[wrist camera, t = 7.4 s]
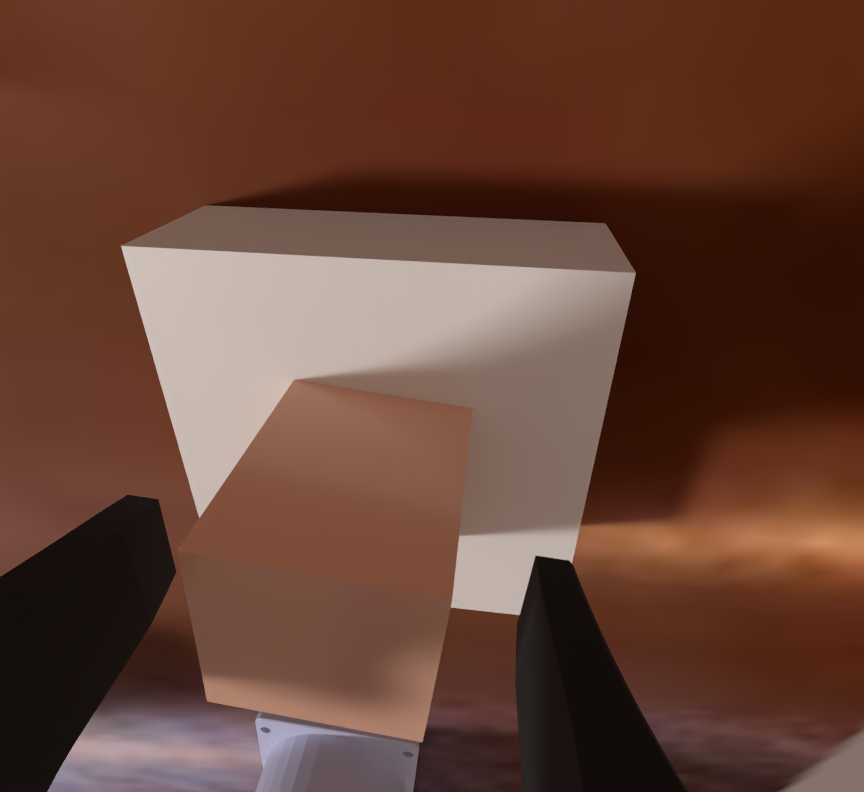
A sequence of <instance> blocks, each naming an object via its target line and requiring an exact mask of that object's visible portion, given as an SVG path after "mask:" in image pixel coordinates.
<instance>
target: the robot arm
mask: <svg viewBox="0 0 864 792" xmlns="http://www.w3.org/2000/svg"><path fill="white" fill-rule="evenodd" d="M175 574H176V569H175V565H174V561H173V557H172V553H171V549H170V545H169V541H168V537H167V533H166V529H165V525H164V521H163V517H162V513H161V509H160V505H159V501H158V499H152V498H145V497H138V496H132V495H127V496H125V497H124V498H122V499H120V500H119V501H117V502H115V503H114V504H112V505H111V506H109V507H108V508H106V509H104V510H103V511H101V512H100V513H98V514H97V515H95V516H94V517H92V518H91V519H89V520H88V521H86V522H85V523H83V524H81V525H80V526H78V527H77V528H75V529H74V530H72V531H71V532H69V533H68V534H66V535H65V536H63V537H62V538H60V539H59V540H57V541H56V542H54V543H52V544H51V545H49V546H48V547H46V548H45V549H43V550H42V551H40V552H38V553H37V554H35V555H34V556H32V557H31V558H29V559H28V560H26V561H24V562H23V563H21V564H20V565H18V566H17V567H15V568H14V569H12V570H10V571H9V572H7V573H6V574H4V575H3V576H1V577H0V792H47V791H48V789H49V787H50V785H51V783H52V781H53V780H54V778H55V776H56V774H57V772H58V770H59V768H60V767H61V765H62V763H63V762H64V760H65V758H66V757H67V755H68V753H69V752H70V750H71V748H72V747H73V745H74V743H75V742H76V740H77V739H78V737H79V736H80V734H81V732H82V731H83V729H84V728H85V726H86V725H87V723H88V722H89V720H90V718H91V717H92V715H93V714H94V712H95V711H96V709H97V708H98V706H99V705H100V703H101V701H102V700H103V698H104V697H105V695H106V694H107V692H108V691H109V689H110V688H111V686H112V684H113V683H114V681H115V680H116V678H117V677H118V675H119V674H120V672H121V671H122V669H123V667H124V666H125V664H126V663H127V661H128V660H129V658H130V656H131V655H132V653H133V652H134V650H135V649H136V647H137V645H138V644H139V642H140V641H141V639H142V638H143V636H144V634H145V633H146V631H147V630H148V628H149V626H150V625H151V623H152V621H153V619H154V617H155V615H156V613H157V611H158V609H159V607H160V605H161V603H162V601H163V599H164V597H165V595H166V593H167V591H168V589H169V586H170V584H171V582H172V580H173V578H174V576H175ZM515 683H516V698H517V712H518V727H519V741H520V754H521V768H522V781H523V792H688V791H687V789H686V788H685V786H684V785H683V783H682V781H681V780H680V778H679V777H678V775H677V773H676V772H675V770H674V768H673V767H672V765H671V763H670V762H669V760H668V758H667V756H666V755H665V753H664V751H663V750H662V748H661V746H660V745H659V743H658V741H657V739H656V737H655V736H654V734H653V732H652V730H651V728H650V727H649V725H648V723H647V721H646V720H645V718H644V716H643V714H642V712H641V711H640V709H639V707H638V705H637V703H636V701H635V699H634V697H633V696H632V694H631V692H630V690H629V688H628V686H627V684H626V682H625V680H624V678H623V676H622V674H621V672H620V670H619V668H618V666H617V664H616V662H615V660H614V658H613V656H612V654H611V652H610V650H609V648H608V646H607V644H606V642H605V639H604V637H603V635H602V633H601V631H600V629H599V626H598V624H597V622H596V620H595V617H594V615H593V613H592V611H591V608H590V606H589V604H588V601H587V599H586V597H585V594H584V592H583V589H582V587H581V584H580V582H579V579H578V577H577V574H576V571H575V568H574V566H573V565H572V563H571V562H570V561H569V560H562V559H555V558H549V557H542V556H535V560H534V564H533V567H532V571H531V575H530V578H529V582H528V586H527V590H526V593H525V597H524V601H523V605H522V608H521V612H520V616H519V620H518V623H517V641H516V679H515ZM255 723H256V729H257V735H258V740H259V746H260V752H261V758H262V764H263V772H262V775H261V777H260V780H259V783H258V786H257V789H256V792H413V789H414V782H415V775H416V768H417V761H418V753H419V746H420V742H418V741H412V740H407V739H402V738H397V737H391V736H386V735H381V734H376V733H371V732H365V731H360V730H355V729H350V728H344V727H339V726H334V725H329V724H323V723H318V722H313V721H308V720H302V719H297V718H292V717H287V716H281V715H276V714H271V713H266V712H260V713H258V716H257V718H256V721H255Z"/></svg>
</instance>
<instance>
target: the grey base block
mask: <svg viewBox="0 0 864 792" xmlns="http://www.w3.org/2000/svg"><path fill="white" fill-rule="evenodd" d="M121 247H122V251H123V254H124V258H125V261H126V265H127V268H128V272H129V275H130V279H131V282H132V286H133V289H134V293H135V296H136V300H137V303H138V307H139V310H140V314H141V317H142V320H143V324H144V327H145V331H146V334H147V338H148V341H149V345H150V348H151V352H152V355H153V359H154V362H155V366H156V369H157V373H158V376H159V380H160V383H161V387H162V390H163V394H164V397H165V400H166V404H167V407H168V411H169V414H170V418H171V421H172V425H173V428H174V432H175V435H176V439H177V442H178V446H179V449H180V453H181V456H182V460H183V463H184V467H185V470H186V473H187V477H188V480H189V484H190V487H191V491H192V494H193V498H194V501H195V505H196V508H197V512H198V515H199V518H200V517H201V515H202V514H203V512H204V511H205V509H206V508H207V506H208V505H209V503H210V502H211V501H212V499H213V498H214V496H215V495H216V493H217V492H218V490H219V489H220V487H221V486H222V484H223V483H224V482H225V480H226V479H227V477H228V476H229V474H230V473H231V471H232V470H233V468H234V467H235V465H236V464H237V463H238V461H239V460H240V458H241V457H242V455H243V454H244V452H245V451H246V449H247V448H248V446H249V445H250V443H251V442H252V441H253V439H254V438H255V436H256V435H257V433H258V432H259V430H260V429H261V427H262V426H263V424H264V423H265V422H266V420H267V419H268V417H269V416H270V414H271V413H272V411H273V410H274V408H275V407H276V405H277V404H278V402H279V401H280V400H281V398H282V397H283V395H284V394H285V392H286V391H287V389H288V388H289V386H290V385H291V383H292V382H293V381H294V380H299V381H305V382H311V383H318V384H324V385H330V386H336V387H343V388H349V389H355V390H361V391H368V392H374V393H380V394H386V395H393V396H399V397H405V398H411V399H418V400H424V401H430V402H436V403H443V404H449V405H455V406H461V407H467V408H473V411H472V420H471V430H470V439H469V448H468V458H467V467H466V476H465V485H464V495H463V504H462V513H461V523H460V532H459V541H458V550H457V560H456V569H455V578H454V588H453V597H452V603H451V607H452V608H461V609H470V610H479V611H488V612H497V613H506V614H515V615H520V612H521V608H522V605H523V601H524V597H525V593H526V590H527V586H528V582H529V578H530V575H531V571H532V567H533V564H534V560H535V556H542V557H549V558H555V559H562V560H569V561H570V562H571V563H572V561H573V556H574V552H575V547H576V542H577V538H578V533H579V529H580V524H581V520H582V515H583V511H584V506H585V502H586V497H587V493H588V488H589V483H590V479H591V474H592V470H593V465H594V461H595V456H596V452H597V447H598V443H599V438H600V434H601V429H602V425H603V420H604V415H605V411H606V406H607V402H608V397H609V393H610V388H611V384H612V379H613V375H614V370H615V366H616V361H617V356H618V352H619V347H620V343H621V338H622V334H623V329H624V325H625V320H626V316H627V311H628V307H629V302H630V298H631V293H632V288H633V284H634V279H635V275H636V272H635V271H634V269H633V267H632V266H631V264H630V263H629V261H628V259H627V258H626V256H625V254H624V253H623V251H622V249H621V248H620V246H619V245H618V243H617V241H616V240H615V238H614V236H613V235H612V233H611V231H610V230H609V228H608V227H607V225H606V223H587V222H565V221H543V220H521V219H498V218H476V217H454V216H431V215H409V214H387V213H365V212H342V211H320V210H298V209H275V208H253V207H231V206H209V205H206V206H204V207H202V208H199V209H197V210H195V211H193V212H191V213H189V214H187V215H185V216H183V217H181V218H178V219H176V220H174V221H172V222H170V223H168V224H166V225H164V226H162V227H160V228H158V229H155V230H153V231H151V232H149V233H147V234H145V235H143V236H141V237H139V238H137V239H134V240H132V241H130V242H128V243H126V244H124V245H122V246H121Z"/></svg>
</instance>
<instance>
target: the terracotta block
mask: <svg viewBox="0 0 864 792" xmlns="http://www.w3.org/2000/svg"><path fill="white" fill-rule="evenodd" d="M472 411H473V408H467V407H461V406H455V405H449V404H443V403H436V402H430V401H424V400H418V399H411V398H405V397H399V396H393V395H386V394H380V393H374V392H368V391H361V390H355V389H349V388H343V387H336V386H330V385H324V384H318V383H311V382H305V381H299V380H294V381H293V382H292V383H291V385H290V386H289V388H288V389H287V391H286V392H285V394H284V395H283V397H282V398H281V400H280V401H279V402H278V404H277V405H276V407H275V408H274V410H273V411H272V413H271V414H270V416H269V417H268V419H267V420H266V422H265V423H264V424H263V426H262V427H261V429H260V430H259V432H258V433H257V435H256V436H255V438H254V439H253V441H252V442H251V443H250V445H249V446H248V448H247V449H246V451H245V452H244V454H243V455H242V457H241V458H240V460H239V461H238V463H237V464H236V465H235V467H234V468H233V470H232V471H231V473H230V474H229V476H228V477H227V479H226V480H225V482H224V483H223V484H222V486H221V487H220V489H219V490H218V492H217V493H216V495H215V496H214V498H213V499H212V501H211V502H210V503H209V505H208V506H207V508H206V509H205V511H204V512H203V514H202V515H201V517H200V518H199V520H198V521H197V523H196V524H195V525H194V527H193V528H192V530H191V531H190V533H189V534H188V536H187V537H186V539H185V540H184V542H183V543H182V544H181V546H180V547H179V549H178V550H177V553H178V558H179V563H180V568H181V573H182V578H183V583H184V588H185V593H186V598H187V603H188V608H189V613H190V618H191V623H192V628H193V633H194V638H195V643H196V648H197V653H198V658H199V663H200V668H201V673H202V678H203V683H204V688H205V693H206V698H207V701H208V702H213V703H218V704H224V705H229V706H234V707H239V708H245V709H250V710H255V711H260V712H266V713H271V714H276V715H281V716H287V717H292V718H297V719H302V720H308V721H313V722H318V723H323V724H329V725H334V726H339V727H344V728H350V729H355V730H360V731H365V732H371V733H376V734H381V735H386V736H391V737H397V738H402V739H407V740H412V741H418V742H423V738H424V734H425V729H426V724H427V719H428V714H429V709H430V705H431V700H432V695H433V690H434V685H435V680H436V676H437V671H438V666H439V661H440V656H441V651H442V647H443V642H444V637H445V632H446V627H447V622H448V618H449V613H450V608H451V603H452V597H453V588H454V578H455V569H456V560H457V550H458V541H459V532H460V523H461V513H462V504H463V495H464V485H465V476H466V467H467V458H468V448H469V439H470V430H471V420H472Z"/></svg>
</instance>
